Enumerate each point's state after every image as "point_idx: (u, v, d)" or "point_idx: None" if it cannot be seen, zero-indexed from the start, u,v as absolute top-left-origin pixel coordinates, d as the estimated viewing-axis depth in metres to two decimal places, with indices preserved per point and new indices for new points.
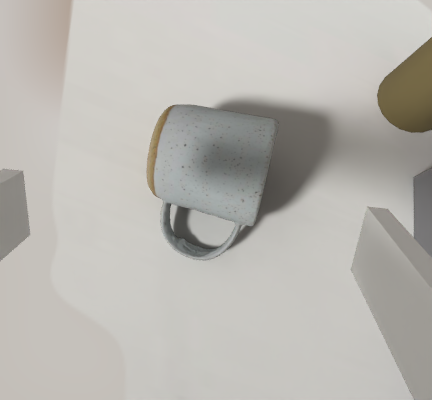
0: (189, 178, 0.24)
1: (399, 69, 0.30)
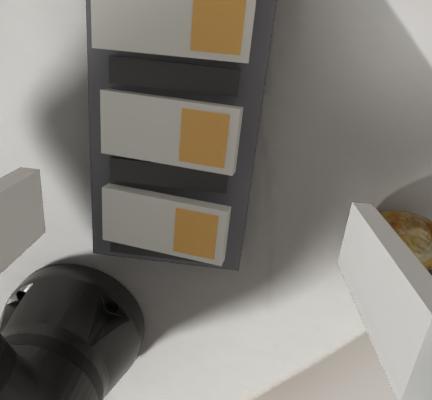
0: None
1: None
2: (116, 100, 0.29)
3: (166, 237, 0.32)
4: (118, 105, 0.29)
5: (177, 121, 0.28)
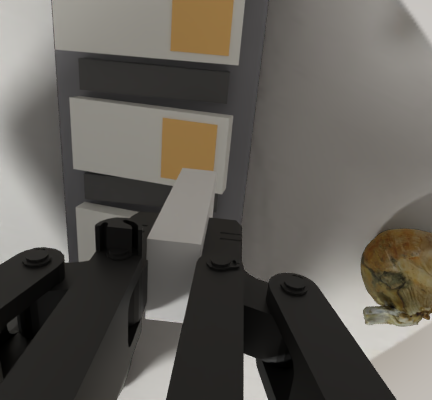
0: None
1: None
2: (88, 109, 0.25)
3: None
4: (90, 115, 0.25)
5: (157, 132, 0.25)
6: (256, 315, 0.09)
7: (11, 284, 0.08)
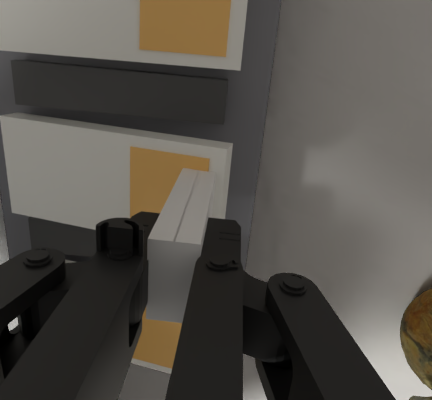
0: None
1: None
2: (26, 133, 0.18)
3: None
4: (30, 141, 0.18)
5: (124, 167, 0.17)
6: (255, 315, 0.09)
7: (12, 284, 0.08)
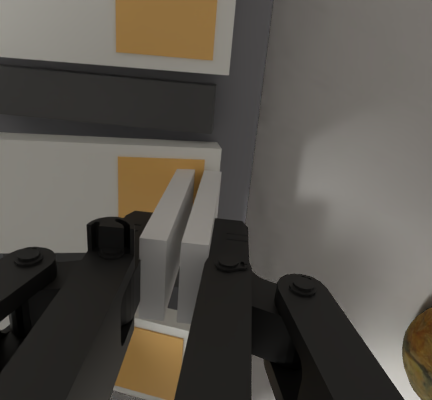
0: None
1: None
2: None
3: None
4: None
5: (110, 180, 0.16)
6: (265, 316, 0.09)
7: (3, 283, 0.08)
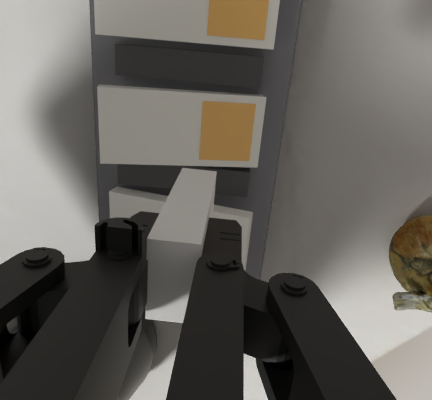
0: None
1: None
2: (120, 98, 0.24)
3: None
4: (122, 104, 0.24)
5: (197, 116, 0.25)
6: (256, 315, 0.09)
7: (12, 284, 0.08)
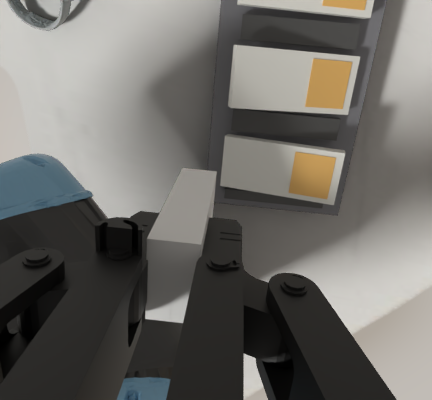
0: None
1: None
2: (252, 54, 0.31)
3: (283, 180, 0.36)
4: (254, 59, 0.31)
5: (307, 71, 0.32)
6: (256, 315, 0.09)
7: (12, 283, 0.08)
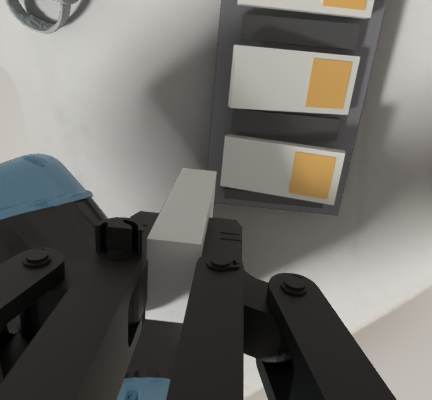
0: None
1: None
2: (252, 54, 0.31)
3: (283, 180, 0.36)
4: (254, 59, 0.31)
5: (307, 71, 0.32)
6: (256, 315, 0.09)
7: (11, 284, 0.08)
